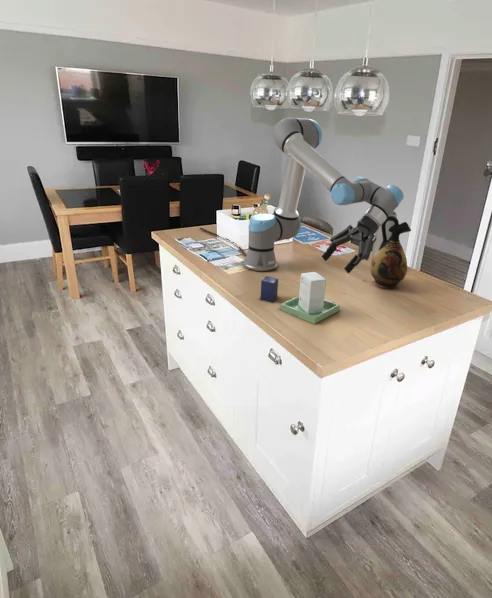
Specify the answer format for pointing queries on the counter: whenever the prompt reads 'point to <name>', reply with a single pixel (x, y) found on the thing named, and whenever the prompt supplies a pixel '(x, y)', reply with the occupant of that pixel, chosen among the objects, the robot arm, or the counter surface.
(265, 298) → the navy block
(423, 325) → the counter surface
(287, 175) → the robot arm
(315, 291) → the small box
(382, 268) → the ceramic jug
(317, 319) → the tray
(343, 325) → the counter surface
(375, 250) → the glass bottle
